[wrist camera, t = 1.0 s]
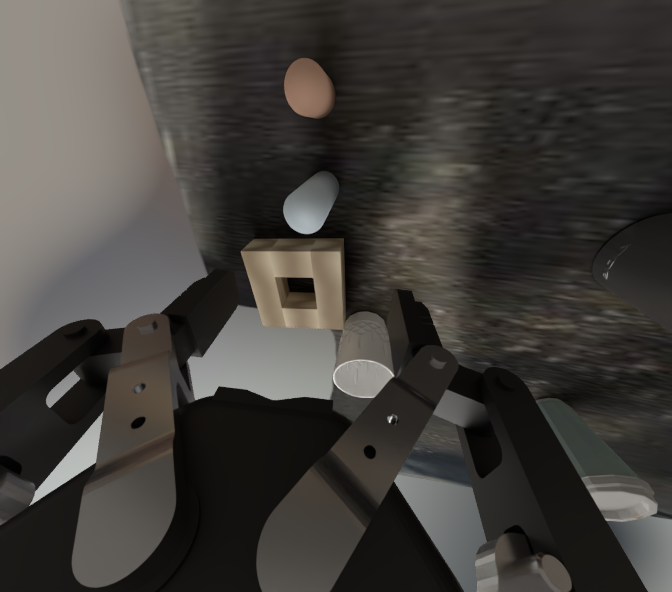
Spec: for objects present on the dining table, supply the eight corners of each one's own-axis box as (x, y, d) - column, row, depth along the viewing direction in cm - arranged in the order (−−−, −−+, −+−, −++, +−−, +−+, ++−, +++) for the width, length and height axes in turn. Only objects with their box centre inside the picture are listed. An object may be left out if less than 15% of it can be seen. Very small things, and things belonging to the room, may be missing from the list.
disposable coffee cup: (500, 412, 47) (546, 511, 35) (543, 382, 41) (616, 490, 29) (548, 426, 48) (609, 527, 36) (597, 398, 41) (691, 510, 29)
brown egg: (334, 69, 21) (325, 55, 17) (336, 117, 23) (329, 114, 19) (297, 73, 22) (280, 60, 17) (302, 119, 23) (288, 117, 19)
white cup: (385, 346, 40) (389, 401, 32) (339, 341, 41) (331, 393, 33) (394, 310, 36) (400, 364, 28) (342, 305, 36) (333, 356, 28)
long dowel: (338, 170, 26) (323, 189, 18) (339, 203, 28) (327, 233, 19) (307, 171, 26) (279, 190, 18) (311, 203, 28) (287, 234, 20)
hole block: (343, 238, 30) (340, 251, 27) (346, 312, 37) (343, 329, 34) (254, 238, 32) (240, 251, 28) (272, 309, 38) (263, 326, 35)
